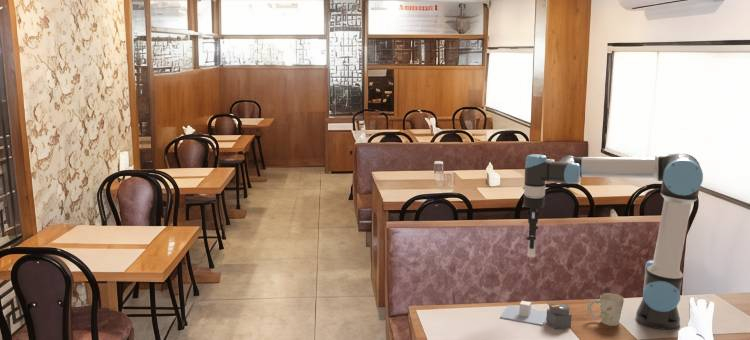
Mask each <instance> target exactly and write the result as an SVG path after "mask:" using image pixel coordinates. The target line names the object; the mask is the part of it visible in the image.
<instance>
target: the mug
mask: <svg viewBox="0 0 750 340" xmlns="http://www.w3.org/2000/svg"><path fill="white" fill-rule="evenodd" d="M624 301H625V299H624V297H623V296H622V295H621V294H617V293H609V292H608V293H607V292H606V293H602V294H600V296H599V299H593V300H591V301H589V302H588V304H587V310H586V311H587V312H588V314H589V315H590V316H592V317H594V318H601V319H600V320H601V323H602V324H603V325H605V326H606V325H607V326H610V327H616V326H618V325H620V319H621V315H622V310H623V306H624ZM594 304H599V305H600V314H595V313H594V312H593V311H592V306H593V305H594Z"/></svg>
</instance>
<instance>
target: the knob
mask: <svg viewBox="0 0 750 340" xmlns="http://www.w3.org/2000/svg"><path fill="white" fill-rule="evenodd" d="M548 307H549V308H547V309H546V312H547V317H546V321H545V323H547V324H548V325H550V326H551V328H553V329H554V330H559V329H567V328H568V329H569V328H572V313H570V311H571V309H570V306H569V305H567V304H566V303H560V302H553V303H550V304H549V306H548Z"/></svg>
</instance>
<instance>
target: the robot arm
mask: <svg viewBox="0 0 750 340" xmlns="http://www.w3.org/2000/svg"><path fill="white" fill-rule="evenodd" d="M580 178H621V179H622V178H625V179H628V178H631V179H654V180H656V181H657V182H662V183H661V188H660V193H659V194H660V196H661V197H662V198H663V204H662V211H661V216H660V220H659V227H658V231H657V232H658V233H657V238H656V245H655V249H654V255H653V259H652V260H651V259H650V260H648V261H646V262H645V266H644V269H645V270H644V277H643V279H644V281H643V290H642V299H641V301H640V303H639V306H638V308H637V309H636V312H635V313H636V314H635V319H636V321H637V322H638V323H640V324H642V325H643V326H646V327H647V326H648V327H650V328H653V329H654V328H655V329H659V330H660V329H661V330H671V329H672V328H673V329H677V328H678V327H680V323H681V317H680V313H679V310H678V305H679V303H680V301H681V288H682V283H683V279H684V274H683V273H682V271H681V269H680V267H681V262H682V256H683V251H684V245H685V239H686V236H687V234H686V233H687V229H688V223H689V220H690V219H689V218H690V214H691V210H692V209H691V208H692V204H693V203H695V202H696V201H698V198H699V192H700V188H701V186H702V183H703V180H704V179H703V178H704V172H703V170H702V167H701V165H700V162H699V161H698V160H697V159H696V157H694V156H693V155H691V154H687V153H667V154H666V153H665V154H656V155H655V156H654V157H651V156H650V157H649V156H648V157H646V156H645V157H640V156H639V157H638V156H632V157H631V156H629V157H628V156H627V157H626V156H623V157H620V156H617V157H616V156H610V157H609V156H606V157H605V156H596V157H595V156H582V157H581V156H573V155H565V156H563V157H562V158H560V160H558V161H550V160H548V159H547V156H546V155H544V154H537V153H535V154H528V155H527V156H526V158H525V166H524V186H522V190H524V191H523V195H524V196H523V206H524V207H525V208H530V210H527V218H528V219H527V221H528V236H527V237H526V240H527V254H526V255H527V258H536V243H537V230H538V229H539V226H537V224H538V221H539V216H540V215H539V213H540V212H539V211H540V210H538V209H543V208H545V195H546V182H547V183H548V182H549V183H550V182H551V183H561V184H568V185H569V184H571V185H572V184H573V185H574V184H575V185H577V184H579V182H580ZM676 327H677V328H676ZM673 329H672V330H673Z"/></svg>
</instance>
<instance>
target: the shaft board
mask: <svg viewBox="0 0 750 340" xmlns="http://www.w3.org/2000/svg"><path fill="white" fill-rule="evenodd" d="M546 317H547V310H546V311H544V310H539V309H532V302H531V301H525V300H521V301H520V303H519V306H516V305H510V304H508V305H507V306H506V308H505V309H504V311H502V314H500V316H499V318H500V319H503V318H504V320H508V321H509V320H510V321H516V322H519V323H520V322H521V323H526V324H532V325H537V326H544V324H545V323H546Z"/></svg>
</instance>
